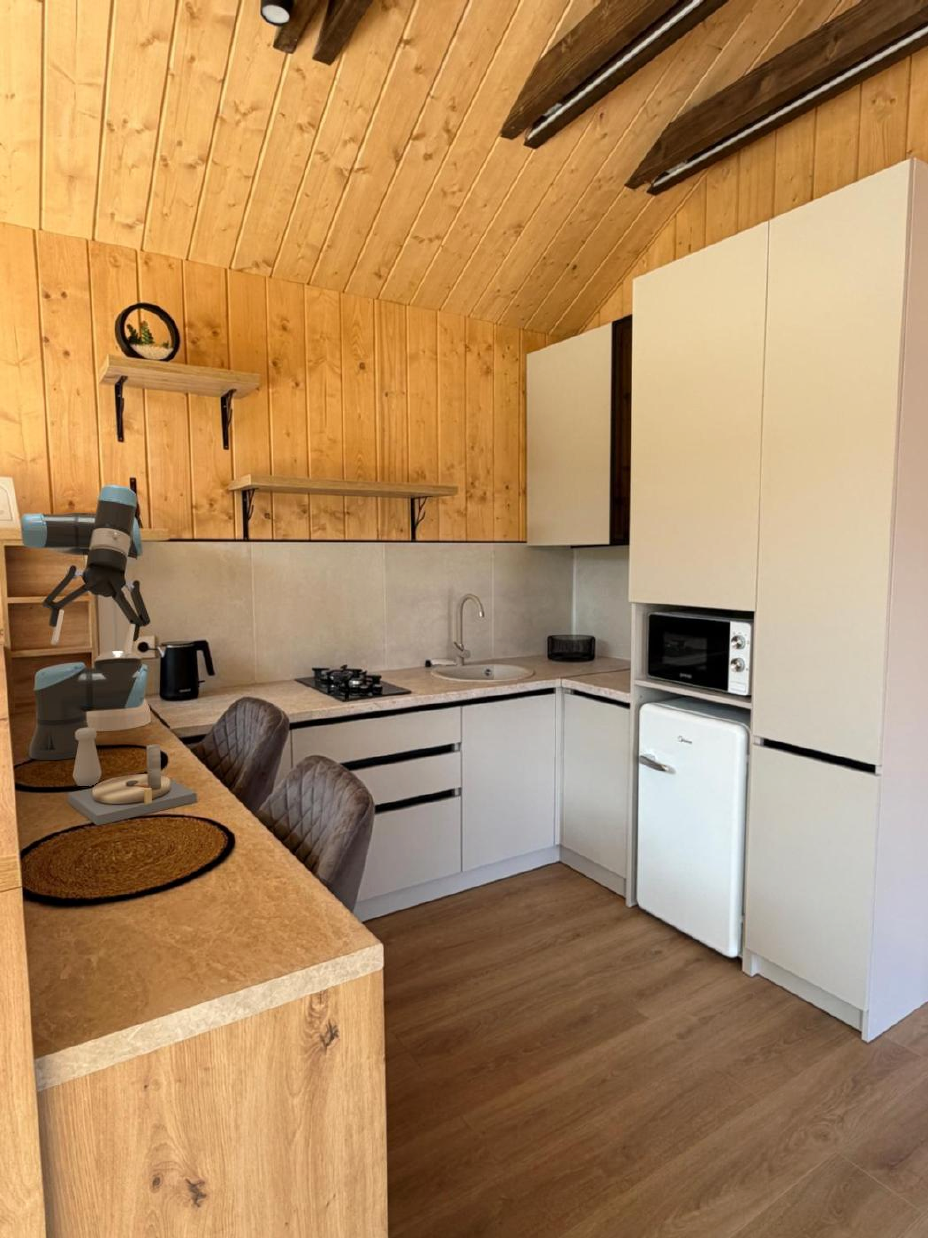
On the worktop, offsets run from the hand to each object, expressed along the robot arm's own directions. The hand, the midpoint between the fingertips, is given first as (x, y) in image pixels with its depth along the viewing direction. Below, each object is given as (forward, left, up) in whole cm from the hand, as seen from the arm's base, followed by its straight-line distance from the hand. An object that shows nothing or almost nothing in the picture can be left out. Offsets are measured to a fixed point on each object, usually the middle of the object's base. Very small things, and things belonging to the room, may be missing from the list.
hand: (91, 649), depth 147 cm
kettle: (-75, +30, -34) cm, 88 cm away
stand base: (+1, +7, -33) cm, 34 cm away
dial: (+1, +7, -31) cm, 32 cm away
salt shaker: (-18, +4, -34) cm, 38 cm away
